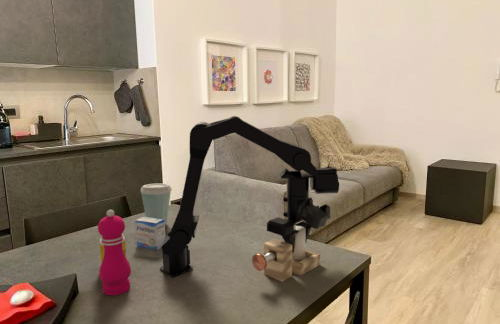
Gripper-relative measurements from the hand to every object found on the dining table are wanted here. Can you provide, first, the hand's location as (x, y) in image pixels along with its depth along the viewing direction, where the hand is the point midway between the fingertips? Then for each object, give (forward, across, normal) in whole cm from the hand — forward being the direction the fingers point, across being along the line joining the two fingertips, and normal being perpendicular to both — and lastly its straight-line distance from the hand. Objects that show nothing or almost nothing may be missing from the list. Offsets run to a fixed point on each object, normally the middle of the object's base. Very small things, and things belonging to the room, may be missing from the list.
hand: (297, 249), depth 105 cm
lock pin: (0, -11, 0) cm, 11 cm away
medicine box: (+5, -20, +41) cm, 46 cm away
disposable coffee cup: (+5, -8, +56) cm, 57 cm away
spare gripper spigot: (+2, 0, 0) cm, 2 cm away
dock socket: (+4, -3, 0) cm, 5 cm away
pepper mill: (+5, -40, +24) cm, 47 cm away
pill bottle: (+5, -35, +35) cm, 50 cm away
